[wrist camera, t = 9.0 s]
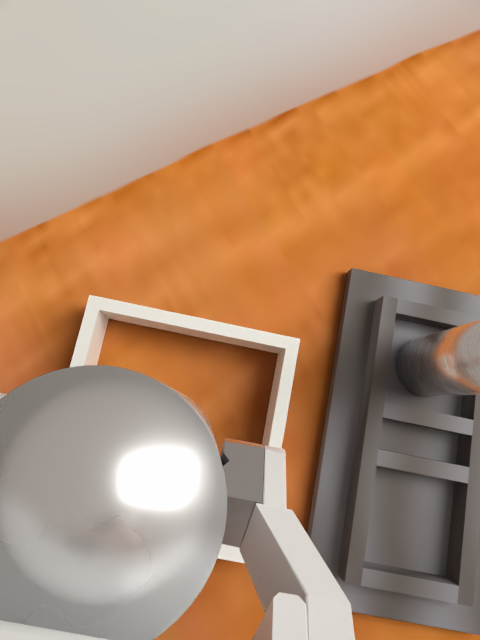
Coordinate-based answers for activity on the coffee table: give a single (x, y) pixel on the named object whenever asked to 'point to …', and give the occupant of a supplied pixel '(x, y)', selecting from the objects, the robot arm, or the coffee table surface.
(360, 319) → the tray
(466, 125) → the coffee table surface
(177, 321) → the white square frame
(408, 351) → the seated billet
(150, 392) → the ball
